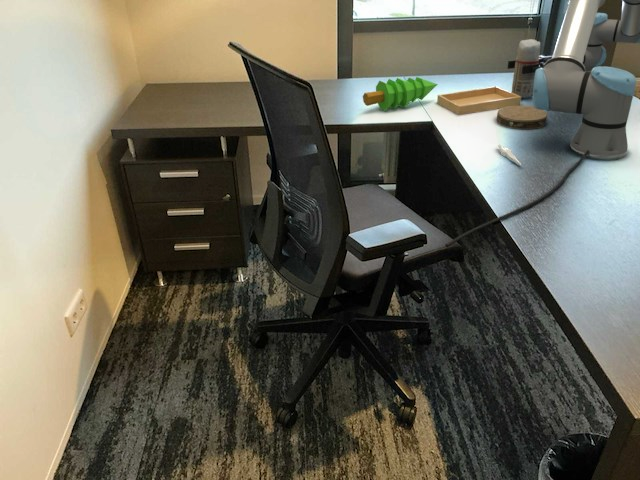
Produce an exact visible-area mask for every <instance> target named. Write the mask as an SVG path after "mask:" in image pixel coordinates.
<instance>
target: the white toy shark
mask: <svg viewBox="0 0 640 480" xmlns="http://www.w3.org/2000/svg"><path fill="white" fill-rule="evenodd" d="M497 147H498V148H499V152H500V154H501V155H502V156H503V157H504V158H505V157H506V158H507V159H508V160H509V161H511V162H513V163H514V164H516V165H518V166H520V167H522V166H523V165H522V163H521V161H519V159H518V158H517V157H516V156H515V154H514V153H512V150H511V149H510V148H507V147H505V146H503V145H501V144H498V145H497Z"/></svg>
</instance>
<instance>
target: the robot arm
mask: <svg viewBox="0 0 640 480" xmlns="http://www.w3.org/2000/svg"><path fill="white" fill-rule="evenodd" d="M606 1H607V0H566V2H567V4H568V5H567V8H566V11H565V14H564V18H563V21H562V24H561V27H560V30H559V34H558V38H557V41H556V44H555V47H554V50H553V53H552V55H547V56H545V55H544V54H541V55H539V62H538V64H534V65H527V66H523V67H522V74H527V73H534V72H535V77H534V86H533V96H532V105H533V107H535V108H537V109H542V110H544V111H546V112H550V111H551V112H561V113H569V114H576V115H577V114H578V115H582V117H581V121H580V125H579V126H578V128H577V130H576V132H575V133H574V135H573V136H572V139H571V140H570V143H569V150H570V152H572V153H574V154H575V155H577V156H580V158H579V159H578V160H577V162H576V163H575V164H574V165H572V166H571V167H570V168H569V169H568V170H567V171H566V173H565V174H564V176H563V177H562V179H560V181H559V182H558V183H557V184H556V185H555V186H554V187H553V188H551V189H550V190H549V191H548V192H546V193H545V194H543V195H541V196H540V197H538V198H537V199H535V200H533V201H531V202H529V203H527V204H526V205H523V206H522V207H519V208H517V209H515V210H513V211H511V212H510V211H509V212H508V213H506V214H503V215H501V216H499V217H496V218H494V219H492V220H489V221H487V222H485V223H483V224H480V225H478V226H476V227H474V228H472V229H470V230H468V231H465V232H464V233H462V234H461V235H459V236H457V237H456V238H454V239H452V240H451V241H449V242H447V243H445V245H444V246H445V247H446V248H449V247H450V246H452V245H454V244H456V243H457V242H458V241H460V240H462V239H464V238H466V237H467V236H470V235H471V234H473V233H475V232H477V231H480V230H482V229H484V228H486V227H488V226H490V225H493V224H495V223H497V222H499V221H502V220H504V219H507V218H508V217H511V216H513V215H516V214H517V213H519V212H522V211H524V210H526V209H528V208H531V207H532V206H534V205H535V204H537V203H539V202H541V201H543V200H544V199H546V198H547V197H549V196H550V195H551V194H553V193H554V192H555V191H556V190H557V189H558V188H559V187H560V186H561V185H562V184H563V183H564V182H565V180H566V179H567V178H568V176H569V175H570V174H571V172H573V170H575V169H576V168H577V167H578V166H579V165H580V164H581V163H582V162H583V160H585V158H586V159H591V160H598V161H613V160H619V159H621V158H624V157H625V156H626V155H627V154H628V153H627V152H628V148H629V145H628V136H627V123H628V119H629V115H630V110H631V106H632V102H633V99H634V96H635V94H636V86H637V78H636V76H635V75H634V74H633V73H631V72H629V71H627V70H625V69H621V68H618V67H613V66H601V65H602V64H603V63H605V61H606V59H607V50H606V48H605V47H604V45H603V42H612V43H613V42H614V43H629V44H640V0H621V1H622V6H621V15H620V19H608V14H607V13H605V12H598V10H599V8H601V7H602V6H603V5H604V4H605V3H606ZM515 62H516V59H513V60H508V61H507V69H508V70H510V69H515ZM588 68H589V69H590V68H592V69H591V70H590V71H586V69H588Z"/></svg>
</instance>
